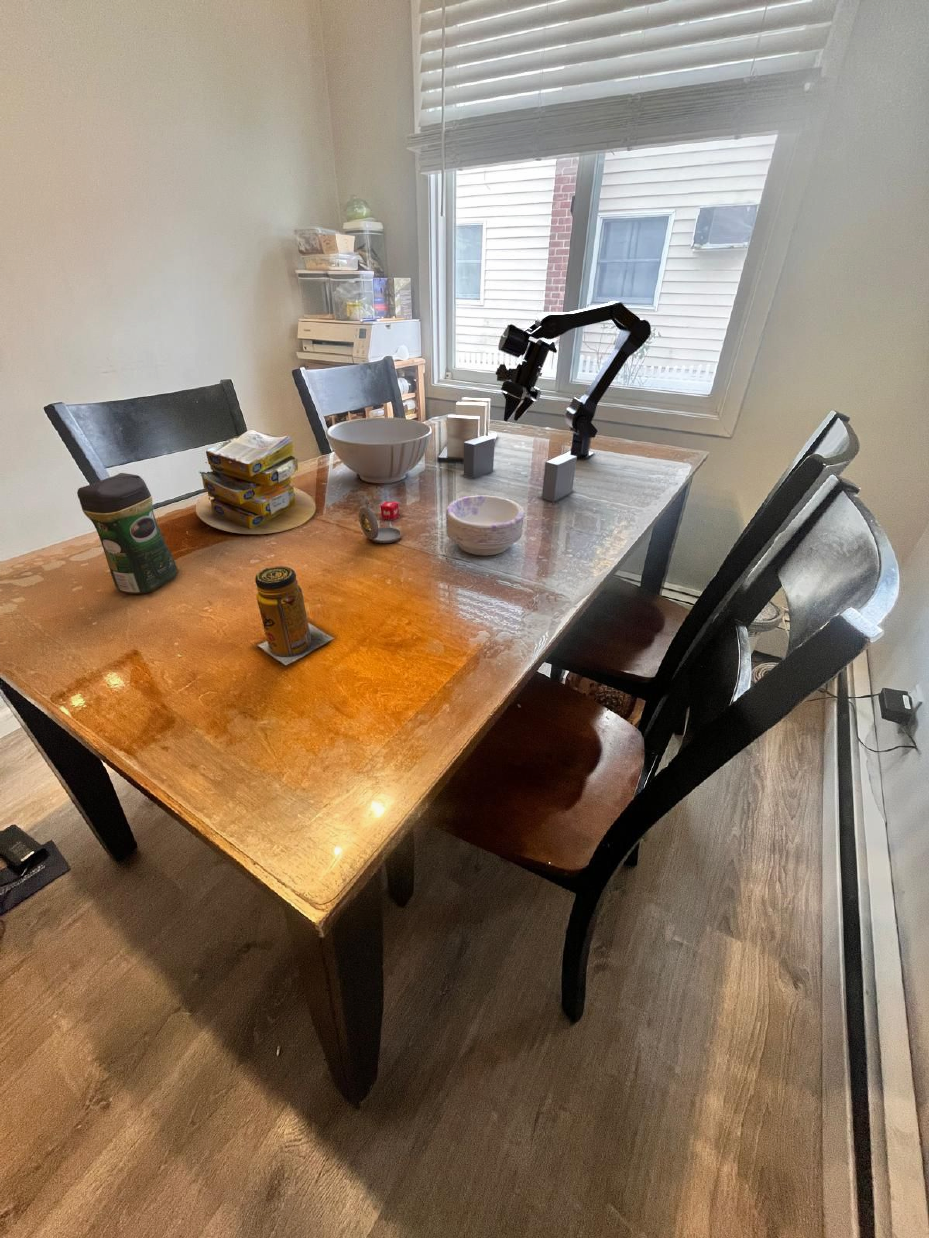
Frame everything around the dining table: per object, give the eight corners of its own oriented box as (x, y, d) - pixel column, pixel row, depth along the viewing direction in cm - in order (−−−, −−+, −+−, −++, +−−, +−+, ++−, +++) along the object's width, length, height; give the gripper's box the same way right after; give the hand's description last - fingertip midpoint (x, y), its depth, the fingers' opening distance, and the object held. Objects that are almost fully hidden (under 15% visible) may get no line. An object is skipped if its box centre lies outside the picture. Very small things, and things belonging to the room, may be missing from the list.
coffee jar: (153, 566, 95) (116, 466, 85) (187, 573, 93) (154, 472, 83) (107, 591, 88) (61, 485, 77) (143, 600, 86) (100, 492, 75)
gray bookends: (483, 468, 146) (484, 435, 141) (572, 491, 131) (577, 456, 126) (463, 476, 140) (463, 442, 135) (553, 501, 125) (558, 464, 120)
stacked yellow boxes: (338, 509, 119) (328, 435, 110) (246, 547, 102) (225, 463, 93) (269, 487, 131) (255, 418, 121) (176, 518, 114) (152, 441, 104)
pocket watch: (406, 534, 109) (404, 488, 103) (389, 550, 102) (385, 502, 96) (372, 528, 111) (367, 482, 105) (352, 544, 104) (346, 496, 99)
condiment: (257, 646, 76) (238, 574, 69) (305, 621, 81) (292, 553, 74) (286, 667, 72) (268, 593, 65) (334, 639, 77) (323, 569, 71)
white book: (485, 443, 162) (486, 403, 156) (484, 446, 159) (485, 405, 153) (457, 442, 163) (457, 401, 156) (455, 445, 160) (455, 404, 154)
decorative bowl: (429, 494, 128) (427, 445, 121) (321, 492, 128) (314, 443, 121) (435, 461, 150) (434, 418, 143) (343, 459, 150) (338, 416, 143)
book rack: (496, 437, 173) (498, 398, 166) (485, 464, 149) (487, 420, 142) (455, 434, 175) (455, 396, 168) (437, 461, 150) (437, 417, 143)
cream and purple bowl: (509, 569, 97) (512, 529, 92) (434, 555, 101) (433, 517, 96) (529, 536, 108) (532, 500, 104) (461, 525, 113) (462, 490, 108)
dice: (393, 520, 115) (392, 507, 113) (381, 518, 115) (380, 505, 114) (399, 515, 117) (398, 502, 115) (387, 513, 118) (386, 501, 116)
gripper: (517, 356, 150) (497, 409, 158) (495, 349, 134) (474, 409, 142) (550, 370, 148) (529, 424, 156) (532, 366, 132) (509, 426, 140)
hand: (510, 420), depth 148 cm, fingers open, 9 cm apart
